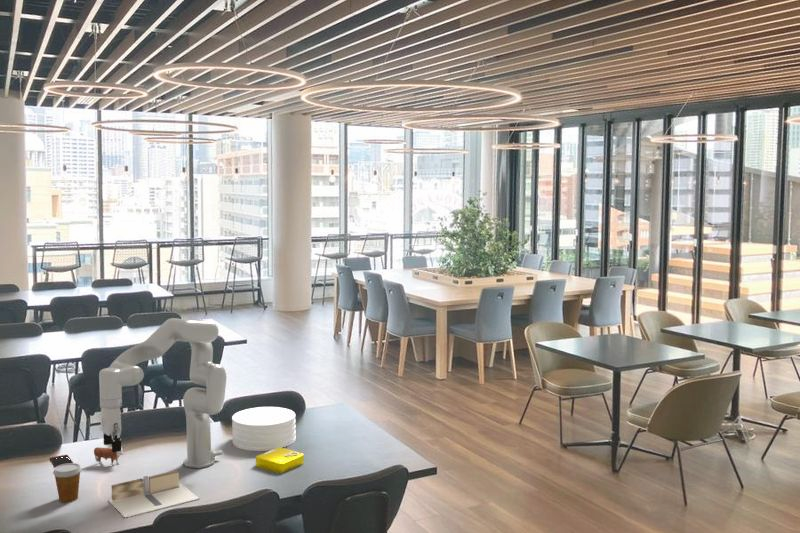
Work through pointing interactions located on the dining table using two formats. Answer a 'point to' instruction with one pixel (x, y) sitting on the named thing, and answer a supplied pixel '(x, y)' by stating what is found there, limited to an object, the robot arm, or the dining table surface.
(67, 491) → the disposable coffee cup
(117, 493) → the fence panel
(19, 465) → the dining table surface
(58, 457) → the smartphone
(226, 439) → the dining table surface
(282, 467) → the element tile
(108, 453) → the bull figurine
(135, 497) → the card
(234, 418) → the plate stack
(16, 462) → the dining table surface
